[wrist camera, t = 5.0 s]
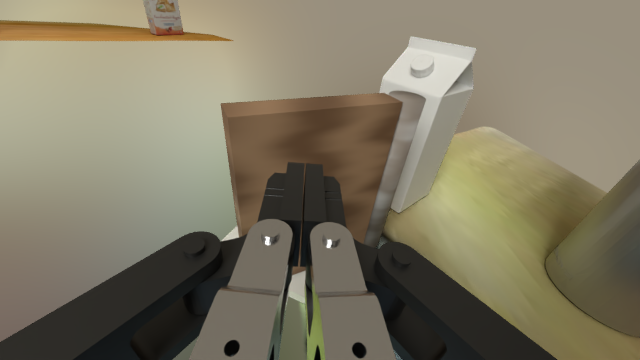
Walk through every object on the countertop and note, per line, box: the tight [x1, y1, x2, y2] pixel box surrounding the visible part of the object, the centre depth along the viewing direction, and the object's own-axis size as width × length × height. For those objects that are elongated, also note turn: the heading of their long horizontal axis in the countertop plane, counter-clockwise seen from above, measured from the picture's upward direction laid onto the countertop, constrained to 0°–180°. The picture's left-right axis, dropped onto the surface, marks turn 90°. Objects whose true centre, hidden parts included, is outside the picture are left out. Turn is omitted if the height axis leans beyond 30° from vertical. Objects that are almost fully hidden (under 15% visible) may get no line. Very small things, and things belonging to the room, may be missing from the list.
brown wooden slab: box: [221, 91, 426, 275], centre depth 20 cm, size 14×3×15 cm, turn 116°
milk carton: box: [379, 37, 476, 213], centre depth 31 cm, size 7×7×19 cm
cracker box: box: [143, 0, 183, 35], centre depth 123 cm, size 14×6×21 cm, turn 146°
